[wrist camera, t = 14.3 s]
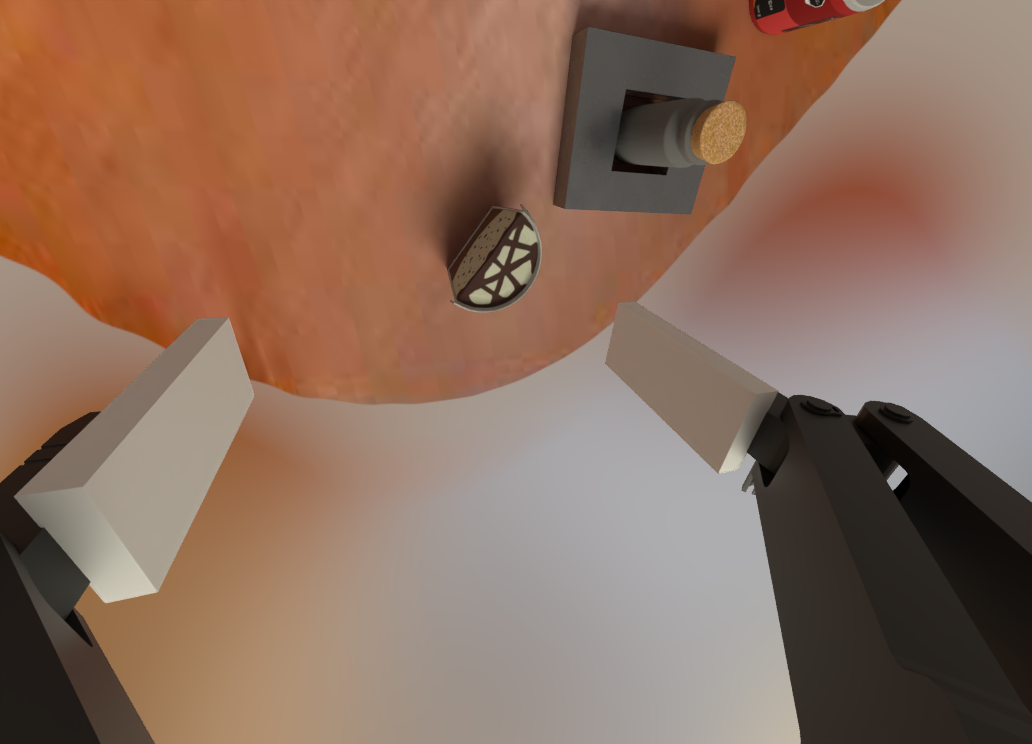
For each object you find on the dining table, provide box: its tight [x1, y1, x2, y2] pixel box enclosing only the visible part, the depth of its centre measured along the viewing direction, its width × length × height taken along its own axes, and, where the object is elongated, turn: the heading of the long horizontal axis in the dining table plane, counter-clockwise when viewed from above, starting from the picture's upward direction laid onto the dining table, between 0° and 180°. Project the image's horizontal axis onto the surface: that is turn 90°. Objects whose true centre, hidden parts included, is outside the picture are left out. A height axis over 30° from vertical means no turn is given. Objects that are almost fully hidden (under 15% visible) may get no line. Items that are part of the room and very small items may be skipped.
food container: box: [447, 204, 542, 312], centre depth 43 cm, size 12×6×10 cm, turn 139°
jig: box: [553, 27, 736, 214], centre depth 44 cm, size 16×18×4 cm
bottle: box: [614, 98, 746, 168], centre depth 39 cm, size 6×6×15 cm
